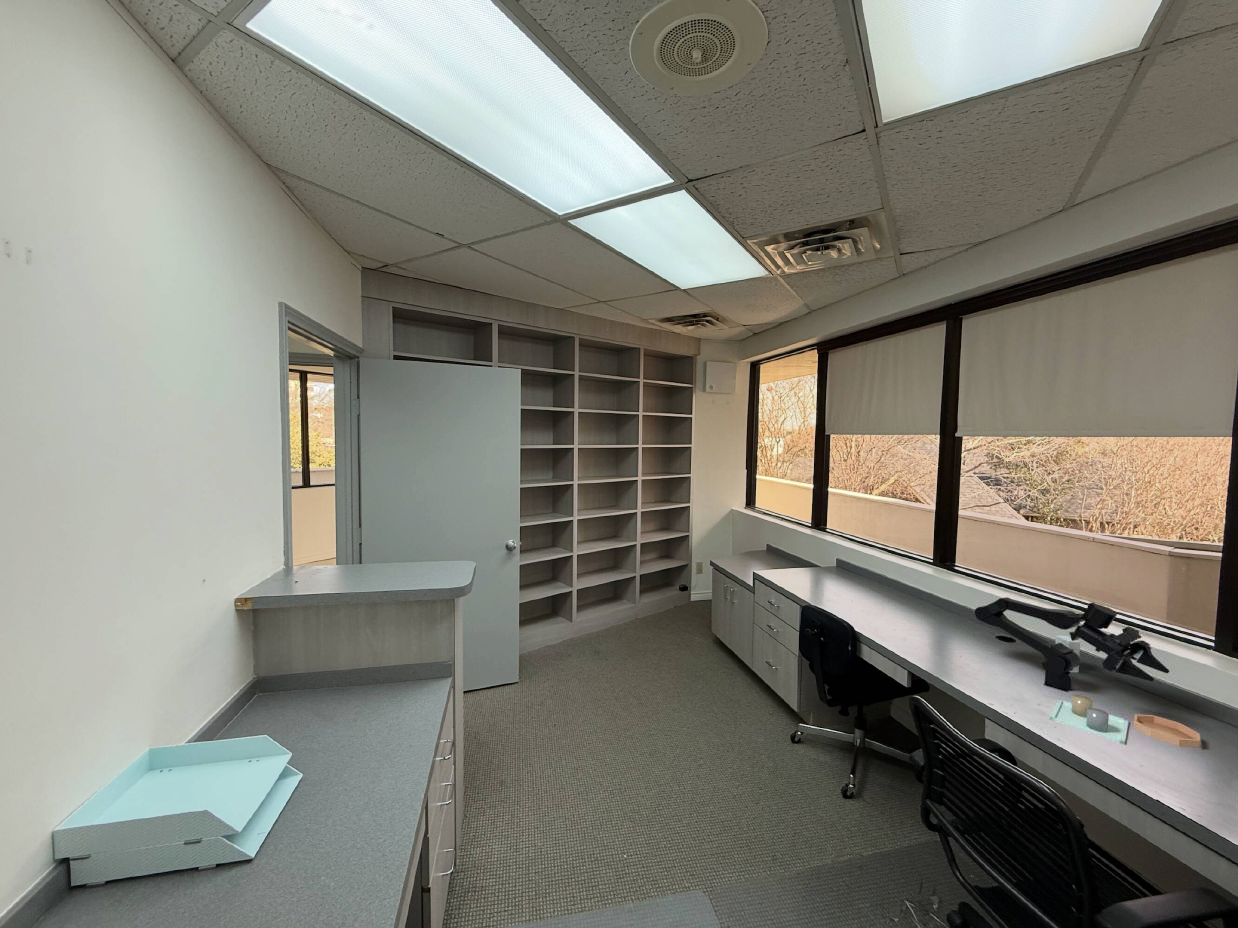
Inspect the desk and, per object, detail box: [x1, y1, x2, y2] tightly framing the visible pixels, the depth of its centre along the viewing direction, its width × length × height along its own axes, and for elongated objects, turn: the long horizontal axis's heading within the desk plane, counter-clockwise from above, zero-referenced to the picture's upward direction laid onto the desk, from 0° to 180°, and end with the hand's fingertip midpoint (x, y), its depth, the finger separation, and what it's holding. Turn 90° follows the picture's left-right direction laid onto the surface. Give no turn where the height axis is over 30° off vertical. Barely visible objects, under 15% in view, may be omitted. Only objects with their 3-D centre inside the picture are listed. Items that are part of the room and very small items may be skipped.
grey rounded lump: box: [1086, 707, 1109, 733], centre depth 144 cm, size 5×5×5 cm
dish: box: [1132, 713, 1201, 748], centre depth 142 cm, size 13×13×2 cm
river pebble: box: [1071, 694, 1093, 718], centre depth 152 cm, size 5×5×5 cm
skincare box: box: [1055, 634, 1081, 673], centre depth 184 cm, size 6×4×12 cm
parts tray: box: [1049, 698, 1130, 745], centre depth 148 cm, size 16×17×1 cm
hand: (1161, 676), depth 147 cm, fingers open, 9 cm apart
